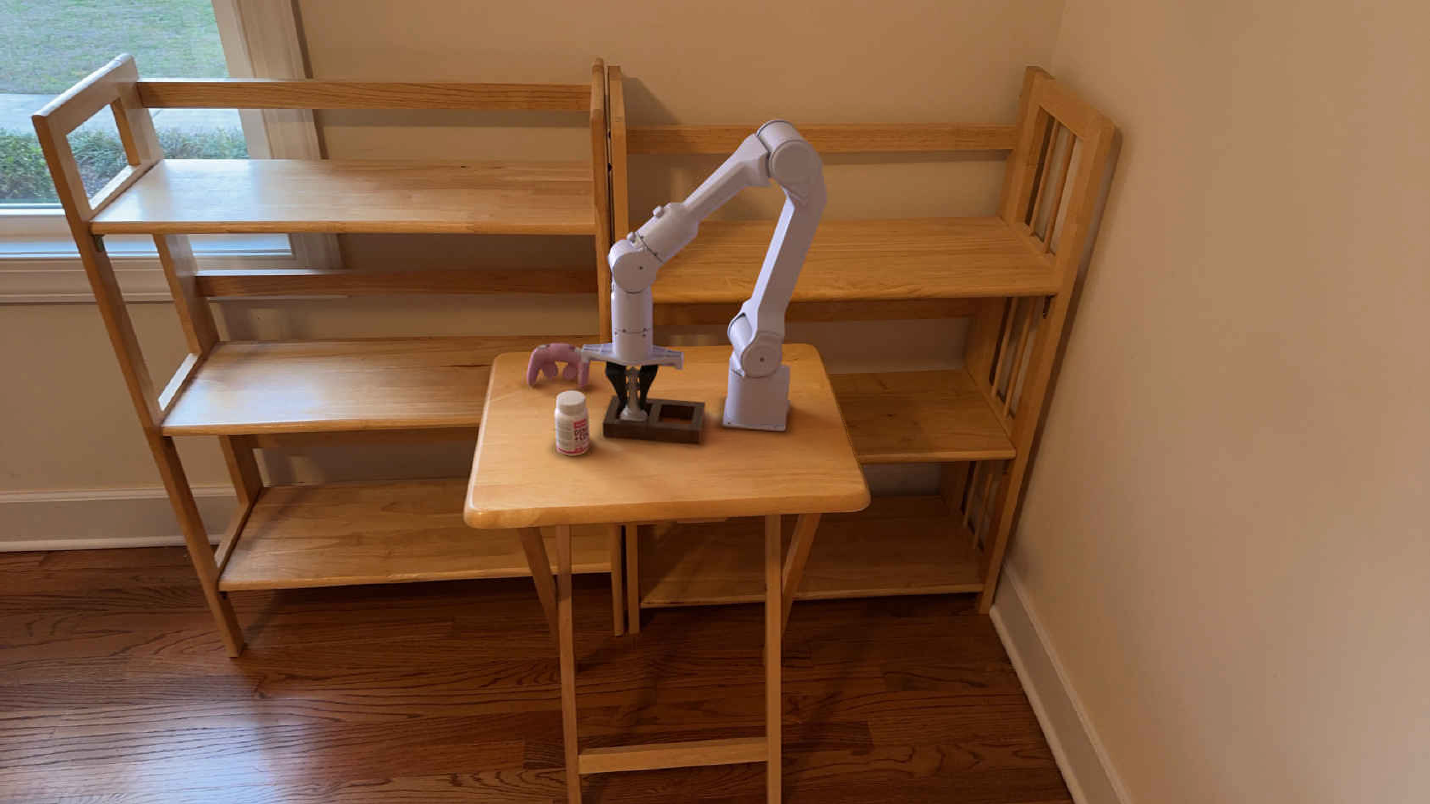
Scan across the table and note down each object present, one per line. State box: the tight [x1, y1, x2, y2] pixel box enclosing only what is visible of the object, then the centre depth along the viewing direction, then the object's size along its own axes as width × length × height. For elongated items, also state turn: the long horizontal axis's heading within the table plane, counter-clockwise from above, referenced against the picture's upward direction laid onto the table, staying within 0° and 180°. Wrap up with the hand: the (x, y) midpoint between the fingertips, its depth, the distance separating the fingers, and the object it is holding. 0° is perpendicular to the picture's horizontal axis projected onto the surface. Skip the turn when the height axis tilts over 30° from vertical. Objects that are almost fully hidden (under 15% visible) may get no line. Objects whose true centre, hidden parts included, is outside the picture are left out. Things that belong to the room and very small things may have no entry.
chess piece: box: [619, 366, 649, 422], centre depth 141 cm, size 4×4×10 cm
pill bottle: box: [554, 390, 590, 457], centre depth 136 cm, size 5×5×8 cm
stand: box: [602, 395, 706, 445], centre depth 142 cm, size 14×8×2 cm, turn 85°
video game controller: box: [526, 342, 592, 391], centre depth 152 cm, size 10×5×7 cm, turn 84°
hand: (633, 405), depth 142 cm, fingers closed on chess piece, 2 cm apart
